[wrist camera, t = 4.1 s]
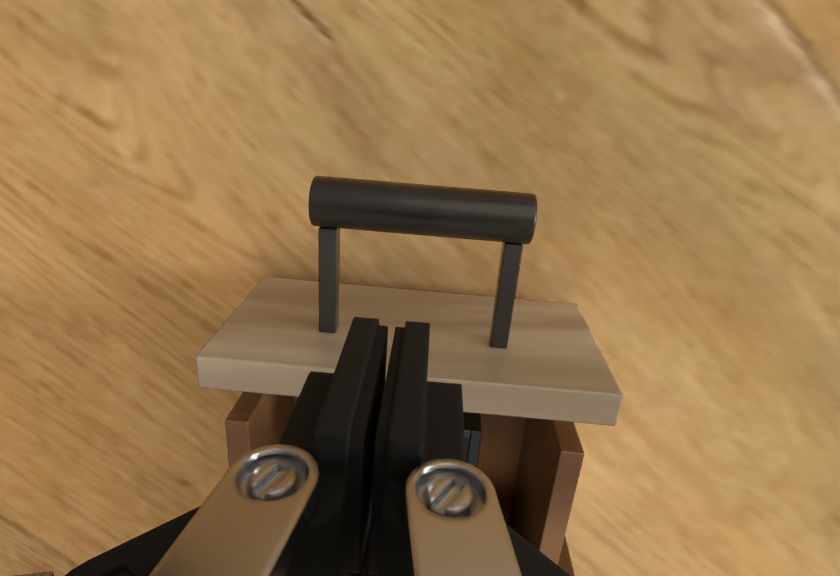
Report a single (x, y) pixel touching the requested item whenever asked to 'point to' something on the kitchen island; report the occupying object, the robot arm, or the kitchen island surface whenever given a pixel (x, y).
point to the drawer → (430, 345)
